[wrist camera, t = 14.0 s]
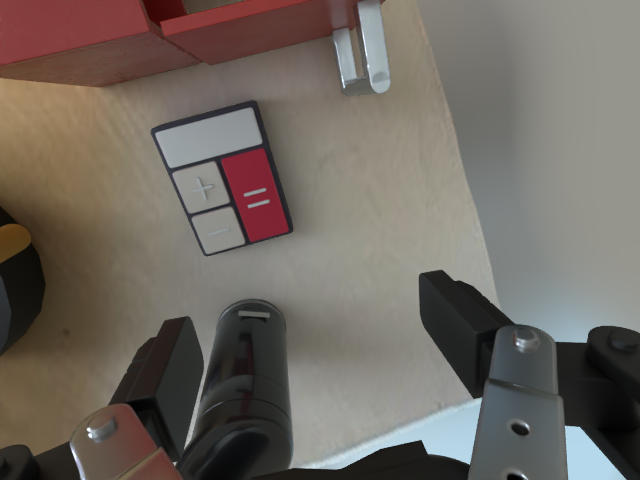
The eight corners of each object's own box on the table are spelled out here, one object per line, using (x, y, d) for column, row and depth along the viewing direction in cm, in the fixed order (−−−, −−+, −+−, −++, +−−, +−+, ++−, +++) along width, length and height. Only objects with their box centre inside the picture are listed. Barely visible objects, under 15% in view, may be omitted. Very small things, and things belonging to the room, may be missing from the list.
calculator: (203, 260, 41) (146, 130, 35) (208, 245, 45) (158, 125, 38) (295, 235, 41) (255, 100, 35) (292, 221, 45) (256, 99, 39)
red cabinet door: (363, 92, 40) (426, 84, 24) (229, 126, 40) (202, 142, 24) (351, 21, 37) (412, -41, 21) (207, 57, 37) (159, 21, 21)
